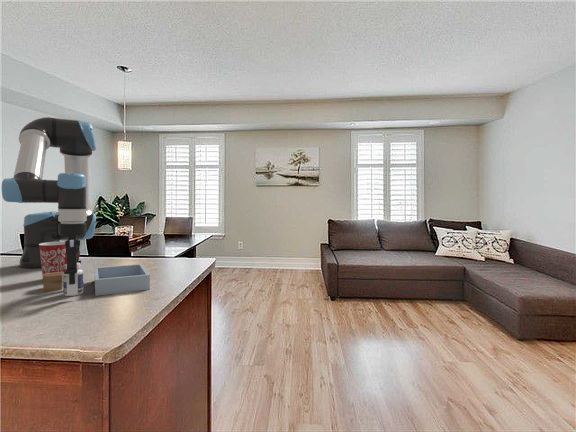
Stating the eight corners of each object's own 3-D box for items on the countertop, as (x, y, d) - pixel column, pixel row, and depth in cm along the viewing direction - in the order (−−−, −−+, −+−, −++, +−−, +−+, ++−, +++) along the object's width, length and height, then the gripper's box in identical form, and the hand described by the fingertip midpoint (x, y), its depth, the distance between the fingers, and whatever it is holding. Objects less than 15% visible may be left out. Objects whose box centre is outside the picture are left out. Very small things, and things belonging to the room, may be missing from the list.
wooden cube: (45, 287, 113) (45, 273, 112) (63, 286, 115) (62, 271, 115) (43, 291, 108) (43, 276, 108) (62, 289, 111) (61, 274, 111)
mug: (37, 283, 117) (36, 245, 117) (41, 277, 125) (40, 242, 124) (79, 279, 124) (79, 243, 123) (80, 274, 131) (80, 240, 131)
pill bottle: (81, 290, 110) (80, 261, 110) (85, 294, 106) (85, 264, 106) (61, 293, 106) (61, 263, 106) (65, 297, 103) (64, 266, 102)
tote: (94, 281, 122) (94, 267, 122) (141, 276, 130) (141, 264, 130) (95, 295, 105) (95, 279, 105) (149, 289, 113) (149, 274, 113)
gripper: (61, 220, 114) (62, 281, 115) (54, 226, 92) (55, 301, 94) (86, 219, 118) (87, 279, 119) (85, 225, 96) (86, 297, 97)
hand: (73, 289), depth 106 cm, fingers open, 13 cm apart
